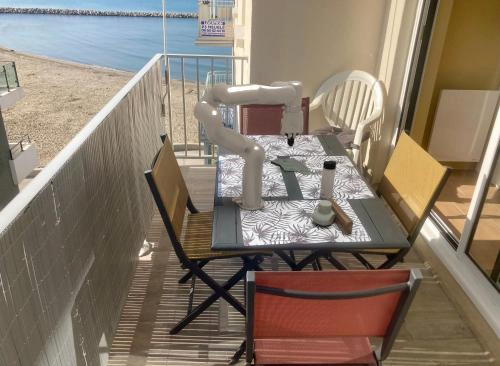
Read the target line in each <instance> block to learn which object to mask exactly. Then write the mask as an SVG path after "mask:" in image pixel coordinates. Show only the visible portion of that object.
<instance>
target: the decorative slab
mask: <svg viewBox="0 0 500 366" xmlns="http://www.w3.org/2000/svg"><path fill="white" fill-rule="evenodd" d="M270 164H272V165H275V166H277V167H280V168H281V169H282V170H283V171H284V173H289V172H290V173H298V174H301V175H302V176H303V175H304V176H310V175H315V173H314V172H312V170H310V169H309V167H308V166H307V165H306V164H304V163H303V162H301V161H299V160H298V159H296V158H295V157H291V158H285V159H284V158H274V159H273V160H270Z"/></svg>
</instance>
